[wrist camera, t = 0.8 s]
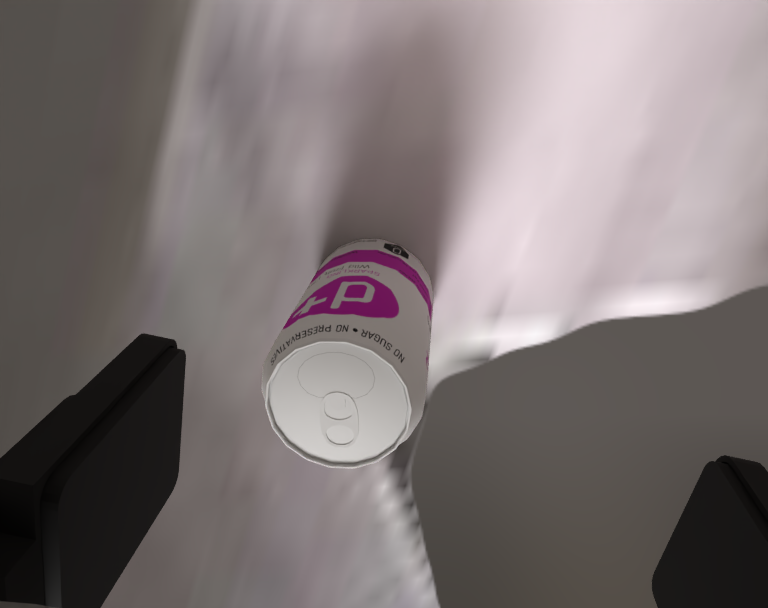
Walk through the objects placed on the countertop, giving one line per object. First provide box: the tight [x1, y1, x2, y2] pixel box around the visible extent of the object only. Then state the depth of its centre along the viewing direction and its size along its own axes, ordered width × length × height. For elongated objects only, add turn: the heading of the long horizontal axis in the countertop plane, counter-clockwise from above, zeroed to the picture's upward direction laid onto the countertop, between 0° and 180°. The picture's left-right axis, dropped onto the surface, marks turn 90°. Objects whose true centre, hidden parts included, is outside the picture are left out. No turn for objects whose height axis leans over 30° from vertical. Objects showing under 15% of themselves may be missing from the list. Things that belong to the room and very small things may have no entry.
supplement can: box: [261, 239, 434, 469], centre depth 36 cm, size 8×8×15 cm
